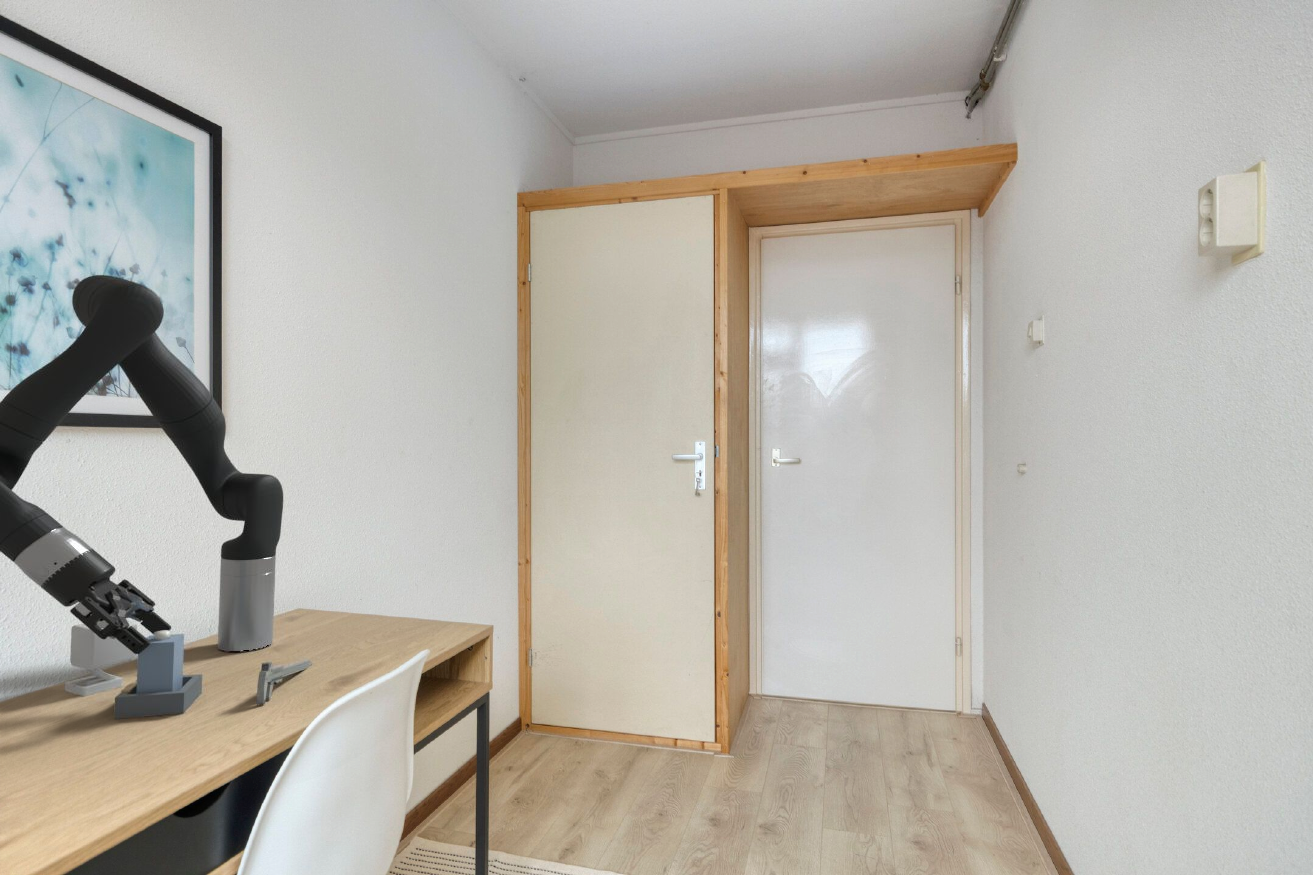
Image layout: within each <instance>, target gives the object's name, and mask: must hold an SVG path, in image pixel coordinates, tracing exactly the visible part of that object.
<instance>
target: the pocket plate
mask: <svg viewBox="0 0 1313 875" xmlns="http://www.w3.org/2000/svg"><path fill="white" fill-rule="evenodd" d="M136 692H137V679H136V680H134V681H133V680H132V681H131V682H130V683H129V684H128V685H126V686H125V687H124V688H122V689H121V691H120V693H119V694H117V695H116V696H115V697H114V713H113V714H114V717H113V719H116V720H117V719H128V718H141V717H154V716H165V715H166V716H167V715H180V714H181V715H182V714H184V713H186V711H187V710H188V709H189V708H190V707H191V705H193V703H194V702H195V701H196V700H197V699H198V698H199V697H200V696H201V695H202V694H203V673H200V674H185V675H184V674H183V680H182V688H181V689H180V690H179V691H171V692H156V693H141V694H136ZM200 694H201V695H200ZM199 695H200V696H199Z"/></svg>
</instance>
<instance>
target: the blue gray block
mask: <svg viewBox="0 0 1313 875" xmlns="http://www.w3.org/2000/svg"><path fill="white" fill-rule="evenodd" d="M146 638H147V639H148V640H149V641H150V645H149V646H148V647H147V648H146V649H145V650H143V651H142V652H141V653H140V654H137V667H136V680H137V692H136V694H141V693H156V692H171V691H179V690H180V689H181V688H182V680H183V675H184V672H183V671H184V652H185V651H184V649H185V634H184V633H177V634H175V633H174V634H171V630H170V631H169V630H162V631H157V632H154V635H153V634H151V635H149V636H147V637H146Z"/></svg>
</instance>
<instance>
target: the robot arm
mask: <svg viewBox="0 0 1313 875" xmlns="http://www.w3.org/2000/svg"><path fill="white" fill-rule="evenodd" d="M71 299H72V300H71V302H72V309H73V311H74V313H75V317H77V319H78V321H79V322H80V323H81V324H82V325H83V326H84V329H83V331H82V332H81V333H80V335H79V336H78V337H77V338H76V339H75V340H74V341H73V342H72V344H71V345H69V347H67V348H66V349H65V350H64V351H62V353H61V354H59V355H58V356H57V357H55V358H54V359H52V360H51V361H50V362H48V363H46V364H45V365H43V366H42V367H40V368H39V369H37V370H36V371H34V372H33V373H31V374H30V375H28V376H27V377H26V378H24V379H23V380H21V381H20V382H19V383H18V384H16V385H15V386H14V387H13V388H12V389H11V390H10V391H9V392H8V393H7V394H6V396H5V397H4V398H2V400H1V401H0V553H2V554H3V555H5V557H7V558H8V559H9V560H10V561H11V562H13V563H14V565H16V566H17V567H18V568H19V569H20V570H21V571H22V573H23V574H24V575H25V576H27V577H28V578H29V579H30V580H31V581H33V582H34V583H35V584H36V585H37V586H39V587H40V588H41V589H42V590H44V591H45V592H46V593H47V594H49V595H50V596H51V598H54V599H55V600H56V601H57V602H58V603H59V604H61V605H62V606H63V607H65V608H66V607H67V608H69V607H72V606H73V607H72V608H71V609H70V610H69V612H70V613H71V614H72V615H73V616H74V617H76V619H77V620H78V621H79V622H81V624H85V625H86V626H87V627H88V628H89V629H90V630H92V631H93V632H94V633H95V634H96V635H97V636H99V637H100V638H101V639H106V638H107V637H110V638H112V639H115V638H116V639H117V640H118V641H120V642H121V643H122V644H123V645H125V646H126V647H127V648H128V649H129V650H131V651H132V652H133V653H134V654H136V655H138V654H140V653H141V652H142V651H143V650H145V649H146V648H147V647H148V646H149V645H150V641H149V640H148V639H147V637H145V636H144V635H143V634H142V632H140V631H138V629H137V630H136V629H135V628H133V627H132V626H130V627H129V623H128V621H127V620H128V619H132V621H135V622H138V623H139V624H140V625H141V626H142V627H144V628H145V629H146V630H147V631H149V632H150V633H151V635H154V632H157V631H162V630H169V631H170V632H171V630H172V625H170V623H169V622H167V621H165V619H163V617H161V616H159V615H158V614H157V613H156V612H155V608H154V607H155V606H156V602H155V601H154V600H152V599H151V598H150V597H148V596H147V595H146V594H145V593H144V592H143V591H141V590H140V589H138V587H136V586H135V585H133V584H132V583H131V582H129V580H127V579H123V580H121V581H120V582H119V583H117V584H116V583H115V582H114V581H112V580H111V577H112V576H113V575H114V574H115V572H116V568H115V566H114V565H113V564H111V563H110V562H109V561H108V560H107V559H105V558H104V557H103V556H102V555H101V554H99V553H98V552H97V551H96V550H95V549H94V548H93V547H91V546H90V545H89V544H88V543H87V542H85V540H83V539H82V538H81V537H79V536H78V535H76V534H75V533H73V532H72V531H70V530H69V529H68V528H66V527H64V526H63V525H62V524H61V523H60V522H58V521H57V520H56V519H55V518H53V517H52V516H51V515H50V514H49V513H48V512H46V511H45V510H44V509H42V508H41V507H39V506H38V505H36V504H34V503H32V502H29V501H27V500H25V499H23V498H21V497H20V496H19V495H18V494H17V493H16V492H14V491H13V489H14V487H16V485H17V484H18V482H19V480H20V479H21V477H22V475H23V474H24V472H25V470H26V469H27V467H28V465H29V463H30V461H31V460H32V457H33V456H34V454H35V452H36V451H37V450H38V449H39V448H40V447H41V446H42V445H43V444H44V443H45V441H46V440H47V439H48V438H49V437H50V435H51V434H52V433H53V432H54V431H55V430H56V429H57V427H58V426H59V425H60V424H61V422H63V420H64V419H65V417H67V415H68V414H69V413H70V412H71V411H72V409H73V408H74V407H75V406H76V405H77V404H78V403H79V402H80V401H81V400H82V398H84V397H85V395H86V394H88V393H89V392H90V390H92V389H93V388H94V386H96V385H97V384H98V383H99V382H100V381H101V380H102V379H104V377H106V375H108V374H109V373H110V372H111V371H112V370H113V369H114V368H116V367H117V366H118V365H119V367H120V369H122V371H123V373H124V374H125V376H126V377H127V379H128V381H129V382H130V384H131V386H132V387H133V389H134V391H135V392H136V393H137V394H138V396H139V397H140V398H141V399H140V400H142V402H143V403H144V404H145V406H146V407H147V409H148V410H149V412H150V413H151V415H152V416H153V418H154V419H155V421H156V422H157V424H158V425H159V427H160V429H161V430H162V431H163V432H164V433H165V435H166V436H167V438H169V439H170V441H171V442H172V443H173V445H174V446H175V447H176V449H177V450H178V451H179V453H180V455H182V458H183V459H184V460H185V462H186V463H187V465H188V466H189V468H190V469H191V470H192V472H193V474H194V475H195V477H196V479H197V481H198V482H199V484H200V486H201V487H202V490H203V491H204V493H205V495H206V497H207V499H208V501H209V503H210V504H211V506H212V507H213V509H214V510H215V512H216V513H218V515H219V516H220V517H221V518H224V519H226V520H231V521H238V522H243V528H242V532H241V534H240V535H239V536H236V537H235V538H232V539H228V540H226V541H223V543H222V544H221V548H220V570H219V571H220V575H219V576H220V577H219V598H218V600H219V603H218V605H219V606H218V624H217V625H218V626H217V628H218V630H217V650H220V651H222V650H225V651H224V652H229V651H240V652H242V651H241V650H249V651H254V650H253V649H256V648H260V649H263V647H264V648H266V646H267V645H269V646H271V645H272V644H273V643H272V642H273V641H274V640H273V638H274V618H275V617H274V616H275V615H274V614H275V613H274V612H275V592H276V590H275V588H276V559H277V558H276V557H277V556H276V555H277V547H278V544H279V541H280V539H281V532H282V520H283V519H282V518H283V510H284V490H283V485H282V484H281V481H280V480H279V479H278V477H276V476H275V475H272V474H267V473H247V472H245V473H244V472H241V471H239V470H238V469H237V468H236V467H235V465H234V464H233V462H232V461H231V459H230V458H229V457H228V455H227V453H226V450H225V439H226V432H227V431H226V430H227V425H226V422H227V421H226V417H225V415H224V413H223V411H222V409H221V408H220V406H219V404H218V403H217V401H216V400H215V398H214V397H213V395H212V394H211V392H210V391H209V390H208V388H207V387H206V386H205V384H204V382H202V381H201V380H200V378H198V376H197V375H196V374H195V373H194V372H193V371H191V369H190V368H189V367H188V366H187V365H185V364H184V363H183V362H182V361H181V360H180V359H179V358H178V357H177V356H175V354H173V353H172V351H171V350H170V349H169V348H167V346H166V345H165V344H164V342H163V341H162V340H161V337H159V336H158V334H157V333H156V332H157V330H158V329H159V328H160V326H161V324H162V322H163V319H164V311H165V309H164V305H163V302H162V300H161V298H160V297H159V296H158V294H157V293H156V292H155V291H154V290H152V289H151V288H150V287H147V286H145V285H143V284H140V283H137V282H135V281H132V280H128V279H125V278H122V277H118V276H113V275H108V274H97V275H95V274H94V275H89V276H88V277H85V278H83V279H82V280H80V281H79V282H78V284H77V285H76V286H75V288H74V290H73V293H72V298H71ZM74 605H75V606H74ZM117 621H118V622H117ZM128 627H129V628H128ZM101 628H103V629H101ZM270 644H271V645H270ZM267 647H268V646H267ZM256 650H257V649H256Z"/></svg>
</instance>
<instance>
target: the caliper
mask: <svg viewBox="0 0 1313 875" xmlns="http://www.w3.org/2000/svg"><path fill="white" fill-rule="evenodd" d="M310 665H313V661H311V659H302V660H299V661H296V662H293V663H290V664H287V665H274V666H273V662H272V661H271V662H270V661H267V662H266V661H265V662H262V663H261V669H260V671H259V672H258V677H257V686H256V687H257V688H256V704H257V706H258V705H260V706H261V705H266V702H267V703H268V702H270V701H271V699H272V698H271V697H272V693H273V688H274V685H279V684H282V683H283V678H285V677H287V676H290V675H293V674H296V673H299V672H302V671H304V670H306V669H308V668H309V667H311V666H310Z"/></svg>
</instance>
